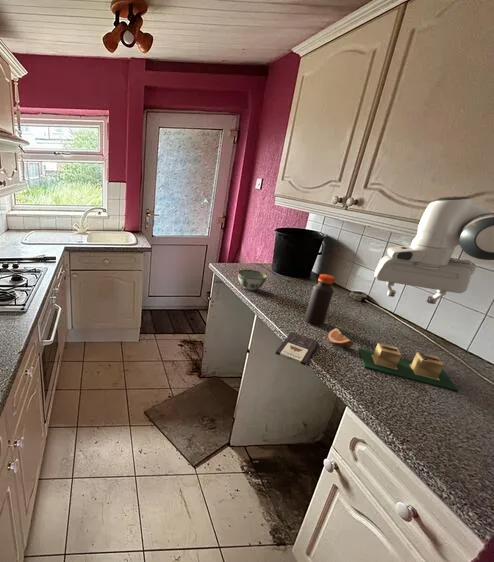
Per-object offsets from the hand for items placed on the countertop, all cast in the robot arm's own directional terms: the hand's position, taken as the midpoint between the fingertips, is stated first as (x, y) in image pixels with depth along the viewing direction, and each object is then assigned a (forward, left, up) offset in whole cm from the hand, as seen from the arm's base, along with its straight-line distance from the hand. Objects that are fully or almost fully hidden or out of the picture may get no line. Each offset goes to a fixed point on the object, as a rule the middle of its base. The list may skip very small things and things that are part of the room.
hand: (409, 299), depth 93 cm
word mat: (-5, 0, -23) cm, 24 cm away
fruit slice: (+12, -5, -23) cm, 27 cm away
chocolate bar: (+25, +5, -23) cm, 34 cm away
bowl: (+46, -45, -23) cm, 69 cm away
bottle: (+19, -21, -23) cm, 37 cm away
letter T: (-10, 0, -22) cm, 24 cm away
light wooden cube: (0, 0, -22) cm, 22 cm away
